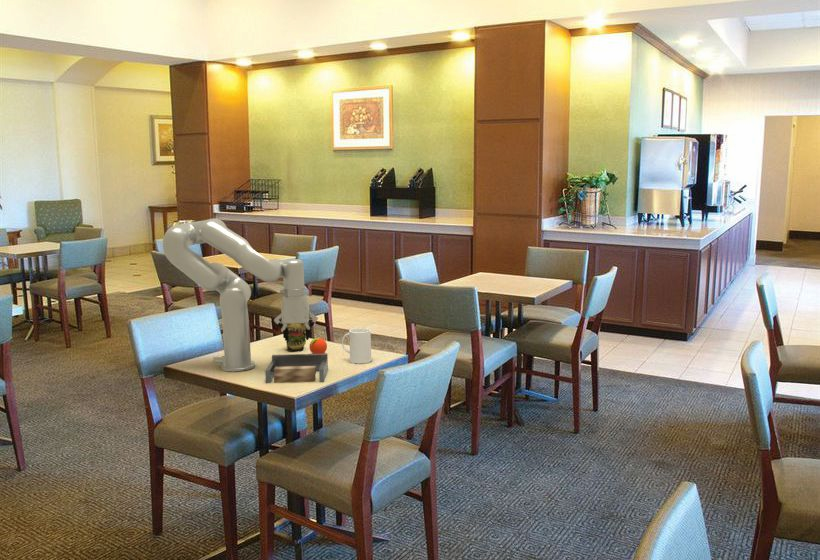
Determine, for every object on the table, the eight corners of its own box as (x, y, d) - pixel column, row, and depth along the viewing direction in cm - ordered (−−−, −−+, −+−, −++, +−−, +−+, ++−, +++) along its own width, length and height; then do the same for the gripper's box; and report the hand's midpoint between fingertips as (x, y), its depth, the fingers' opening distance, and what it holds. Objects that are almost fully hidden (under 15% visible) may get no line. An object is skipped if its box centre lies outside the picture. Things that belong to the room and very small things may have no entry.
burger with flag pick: (283, 349, 258) (281, 318, 256) (294, 344, 265) (292, 314, 263) (301, 351, 255) (299, 319, 253) (311, 346, 262) (309, 315, 260)
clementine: (318, 358, 270) (317, 340, 269) (304, 356, 273) (303, 339, 272) (330, 353, 277) (330, 336, 276) (316, 351, 280) (316, 334, 279)
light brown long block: (274, 383, 240) (273, 369, 239) (275, 380, 243) (274, 366, 242) (315, 382, 241) (314, 368, 240) (316, 379, 243) (315, 365, 243)
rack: (265, 383, 240) (265, 366, 239) (273, 370, 254) (272, 354, 254) (323, 381, 240) (323, 364, 239) (328, 369, 255) (327, 353, 254)
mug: (338, 361, 265) (337, 331, 263) (348, 356, 273) (347, 326, 271) (365, 364, 260) (364, 333, 258) (375, 359, 268) (374, 328, 266)
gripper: (269, 295, 253) (272, 342, 256) (317, 293, 253) (319, 341, 256) (272, 291, 260) (275, 337, 263) (319, 290, 261) (321, 336, 263)
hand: (297, 339), depth 259 cm, fingers closed on burger with flag pick, 7 cm apart
